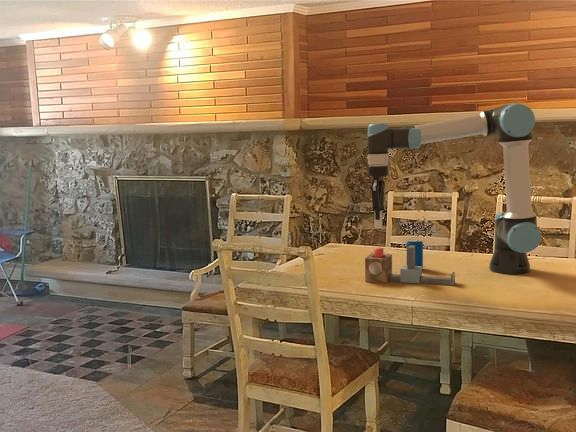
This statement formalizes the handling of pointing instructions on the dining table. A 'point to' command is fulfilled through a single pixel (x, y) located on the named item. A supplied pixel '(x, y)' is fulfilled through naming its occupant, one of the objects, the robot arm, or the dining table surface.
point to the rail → (428, 279)
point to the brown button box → (378, 268)
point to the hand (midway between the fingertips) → (378, 227)
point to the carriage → (410, 268)
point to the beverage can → (417, 250)
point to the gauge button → (378, 252)
